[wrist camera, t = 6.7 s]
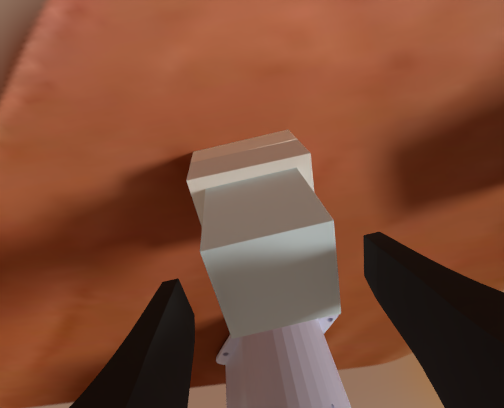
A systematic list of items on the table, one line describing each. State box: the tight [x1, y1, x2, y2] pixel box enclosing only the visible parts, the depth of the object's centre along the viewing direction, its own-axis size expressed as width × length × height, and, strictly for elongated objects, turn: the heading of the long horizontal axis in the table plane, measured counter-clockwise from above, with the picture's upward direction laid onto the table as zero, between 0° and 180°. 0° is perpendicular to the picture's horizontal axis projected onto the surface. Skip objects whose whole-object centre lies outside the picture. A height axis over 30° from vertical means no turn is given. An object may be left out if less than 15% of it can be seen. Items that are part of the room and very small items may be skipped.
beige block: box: [186, 139, 314, 226], centre depth 16 cm, size 6×6×2 cm
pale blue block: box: [200, 167, 341, 339], centre depth 13 cm, size 4×4×5 cm
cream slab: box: [191, 130, 297, 163], centre depth 18 cm, size 6×6×2 cm
